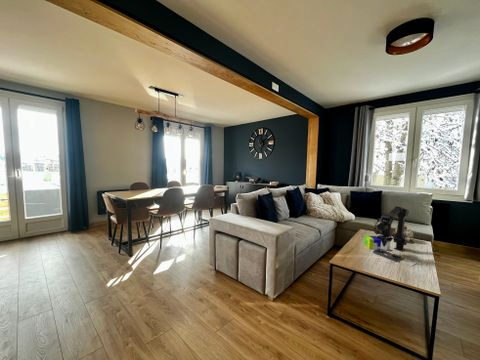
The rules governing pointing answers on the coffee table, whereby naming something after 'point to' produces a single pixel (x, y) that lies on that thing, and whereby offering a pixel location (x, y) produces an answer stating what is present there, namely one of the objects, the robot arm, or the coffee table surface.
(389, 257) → the slotted plate
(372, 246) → the puzzle toy
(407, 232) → the owl figurine
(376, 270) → the coffee table surface
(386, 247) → the brushed metal block
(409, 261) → the mat
